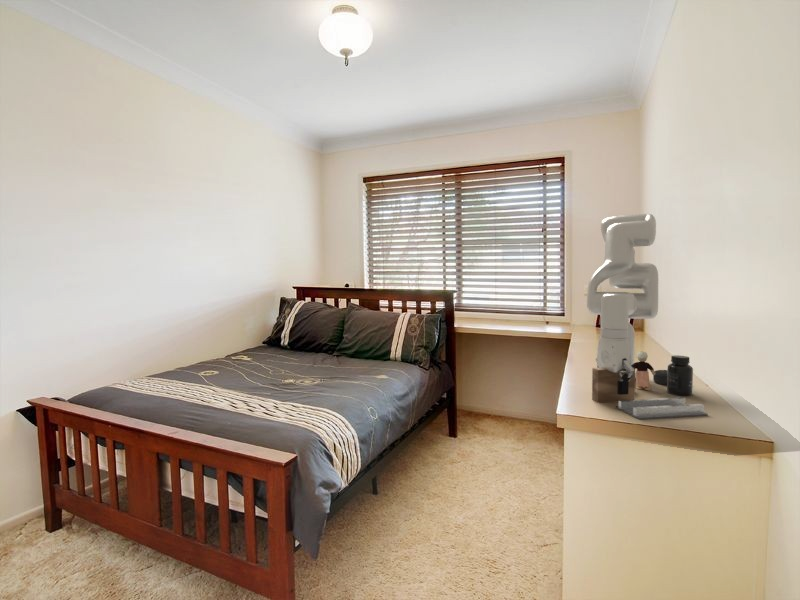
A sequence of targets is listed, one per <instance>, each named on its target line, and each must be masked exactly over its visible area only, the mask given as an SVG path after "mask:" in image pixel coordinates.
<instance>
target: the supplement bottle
mask: <svg viewBox="0 0 800 600" xmlns="http://www.w3.org/2000/svg"><path fill="white" fill-rule="evenodd" d="M670 362H671V363H670V364H668V365H667V369H666V370H667V385H666V391H667V393H669V394H671V395H675V396H680V397H682V396H683V397H689V396H691V395H693V389H694V388H693V387H694V385H693V384H694V383H693V382H694V381H693V380H694V379H693V377H694V368H693V366H691V365H690V357H689V356H685V355H679V354H678V355H676V354H675V355H674V354H673V355H671V360H670Z"/></svg>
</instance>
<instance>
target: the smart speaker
mask: <svg viewBox="0 0 800 600" xmlns="http://www.w3.org/2000/svg"><path fill="white" fill-rule="evenodd" d="M654 371H655V373H656V374H655V375H653V374H652V377H653V381H654V383H656V384H659V385H663V386H667V369H658V370H654Z"/></svg>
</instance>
